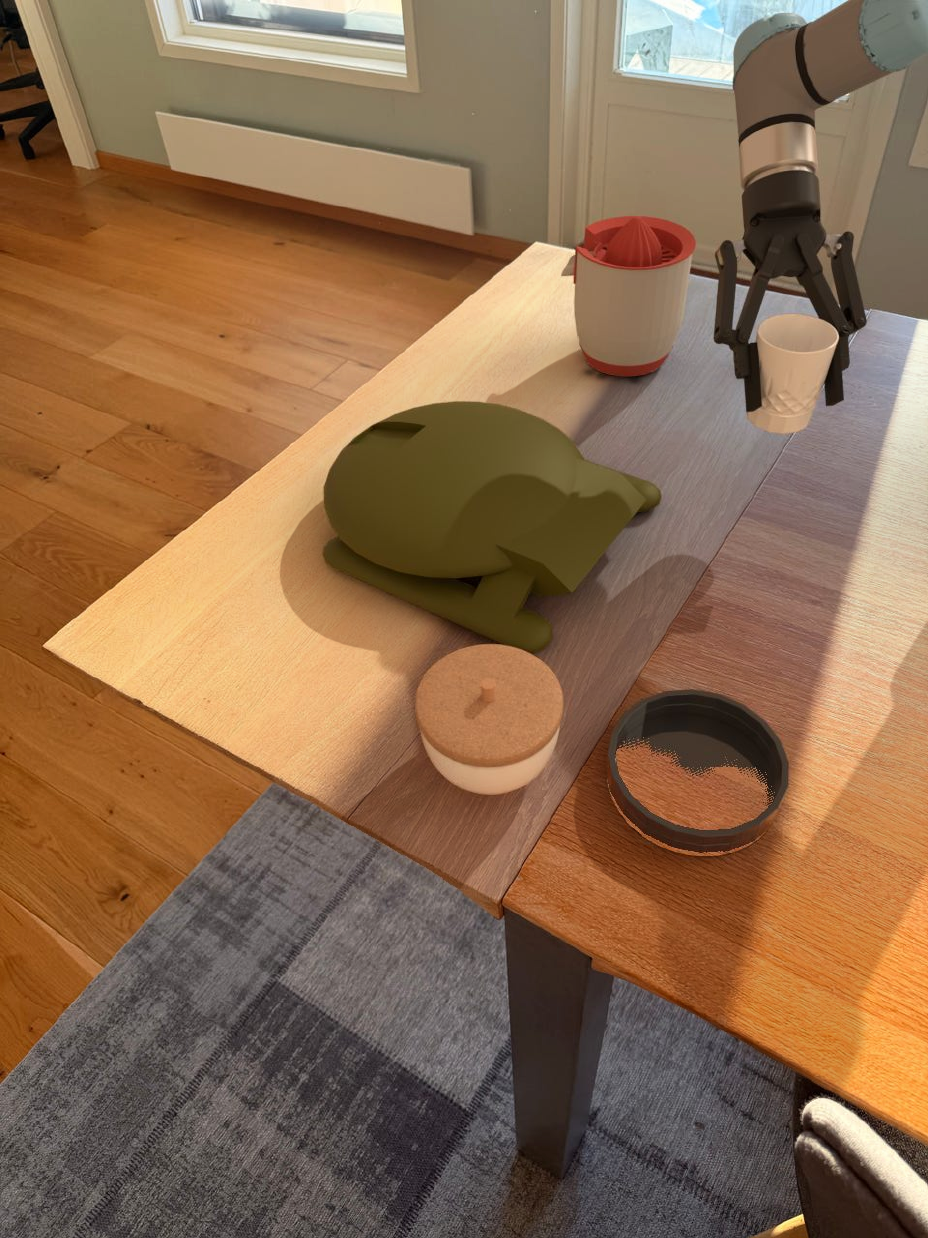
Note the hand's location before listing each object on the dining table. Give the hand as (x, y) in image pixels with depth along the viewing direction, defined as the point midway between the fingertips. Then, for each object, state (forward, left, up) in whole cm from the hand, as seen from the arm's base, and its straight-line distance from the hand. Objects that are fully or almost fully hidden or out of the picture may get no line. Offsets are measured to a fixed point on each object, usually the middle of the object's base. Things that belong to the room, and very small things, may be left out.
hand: (794, 405), depth 94 cm
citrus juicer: (+22, -32, -15) cm, 42 cm away
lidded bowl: (+23, +40, -15) cm, 48 cm away
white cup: (+1, -3, -4) cm, 5 cm away
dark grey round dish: (+5, +38, -15) cm, 41 cm away
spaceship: (+33, +8, -15) cm, 37 cm away
